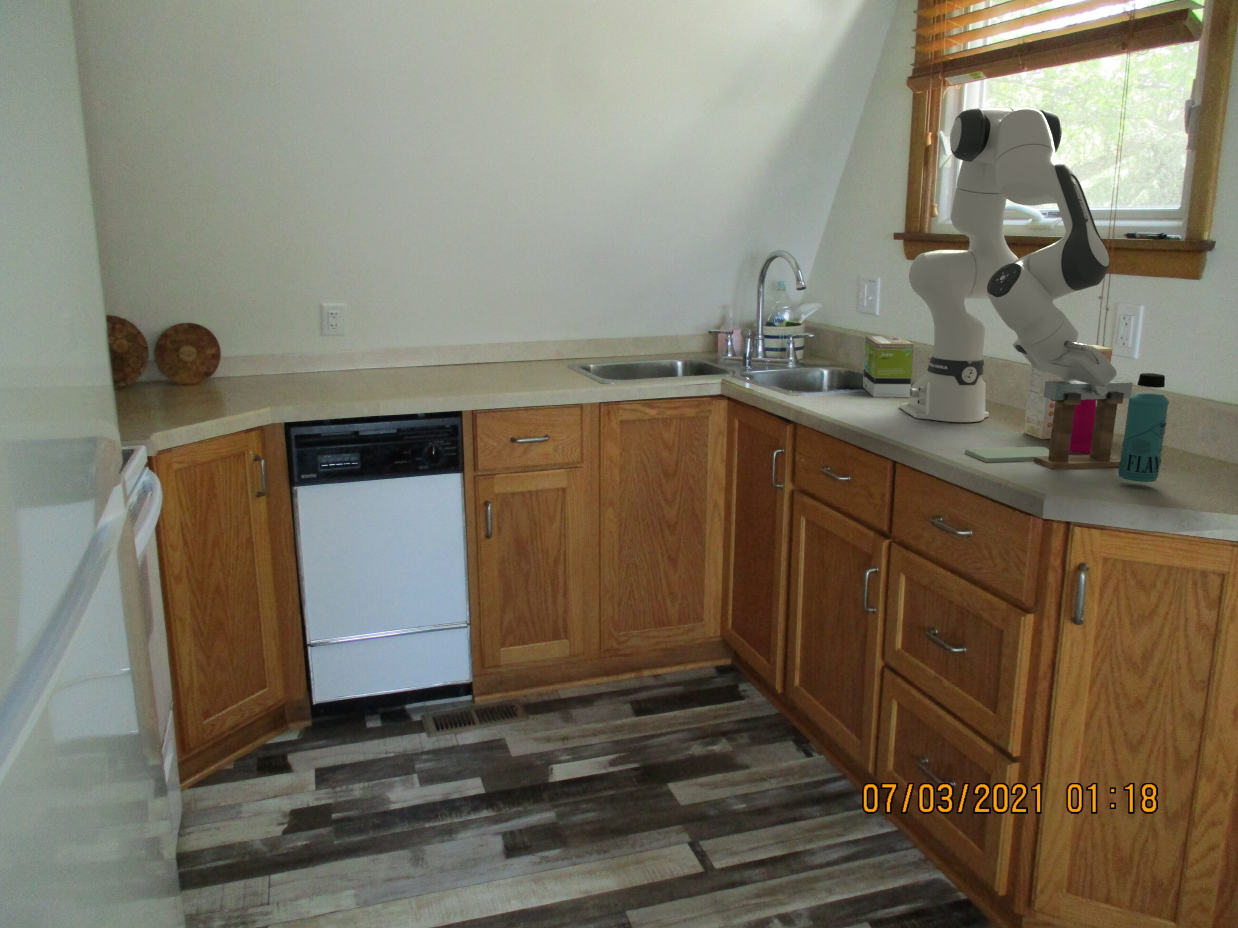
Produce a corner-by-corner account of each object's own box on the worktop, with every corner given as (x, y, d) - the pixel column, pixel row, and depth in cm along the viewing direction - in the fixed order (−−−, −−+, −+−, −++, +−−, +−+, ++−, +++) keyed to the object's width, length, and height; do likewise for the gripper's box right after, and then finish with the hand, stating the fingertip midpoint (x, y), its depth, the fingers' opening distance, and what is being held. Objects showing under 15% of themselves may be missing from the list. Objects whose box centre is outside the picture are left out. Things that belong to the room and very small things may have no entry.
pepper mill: (1087, 446, 204) (1099, 350, 200) (1105, 454, 197) (1118, 355, 192) (1053, 446, 204) (1064, 350, 199) (1069, 454, 197) (1082, 355, 192)
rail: (1043, 397, 186) (1045, 381, 185) (1117, 395, 189) (1120, 379, 188) (1054, 400, 182) (1056, 384, 182) (1130, 398, 185) (1132, 382, 185)
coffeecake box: (1081, 430, 220) (1092, 344, 215) (1102, 437, 213) (1114, 348, 209) (1021, 433, 217) (1031, 345, 212) (1041, 439, 210) (1052, 349, 206)
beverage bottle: (1117, 488, 172) (1133, 375, 167) (1114, 479, 178) (1129, 370, 173) (1159, 492, 169) (1177, 377, 164) (1154, 483, 175) (1170, 372, 171)
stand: (1034, 461, 190) (1042, 389, 187) (1102, 459, 193) (1112, 388, 190) (1053, 469, 184) (1062, 395, 181) (1123, 466, 187) (1133, 393, 184)
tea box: (861, 388, 274) (864, 335, 271) (897, 389, 274) (901, 336, 270) (872, 397, 260) (876, 341, 256) (910, 398, 259) (915, 342, 256)
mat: (964, 453, 197) (965, 449, 197) (1040, 450, 200) (1041, 446, 200) (986, 462, 189) (987, 458, 189) (1065, 459, 192) (1065, 455, 192)
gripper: (1100, 333, 171) (1141, 387, 175) (1030, 321, 191) (1069, 370, 195) (1074, 359, 171) (1116, 412, 176) (1007, 344, 191) (1046, 393, 195)
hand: (1090, 390), depth 185 cm, fingers open, 5 cm apart
